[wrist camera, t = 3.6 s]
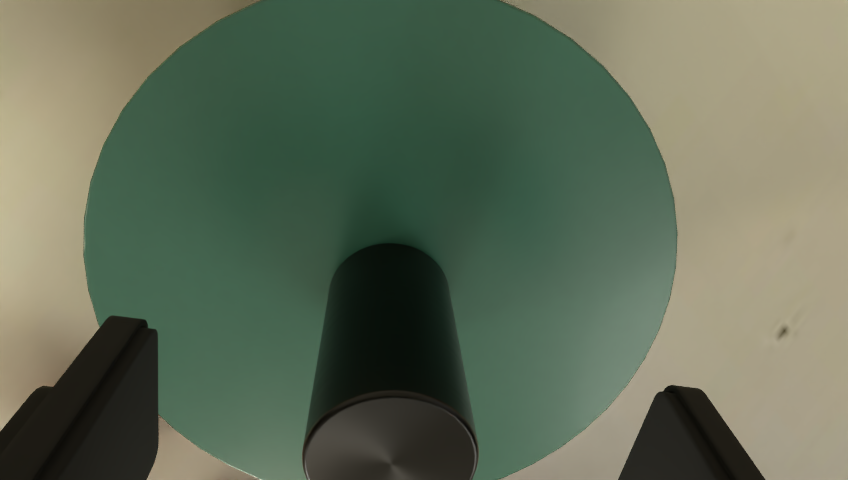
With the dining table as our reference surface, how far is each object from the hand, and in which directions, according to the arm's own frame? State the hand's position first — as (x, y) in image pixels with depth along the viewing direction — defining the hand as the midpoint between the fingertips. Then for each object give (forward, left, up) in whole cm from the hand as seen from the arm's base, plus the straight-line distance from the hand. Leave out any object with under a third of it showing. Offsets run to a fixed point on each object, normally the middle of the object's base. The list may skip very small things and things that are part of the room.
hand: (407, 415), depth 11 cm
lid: (0, 0, -5) cm, 5 cm away
